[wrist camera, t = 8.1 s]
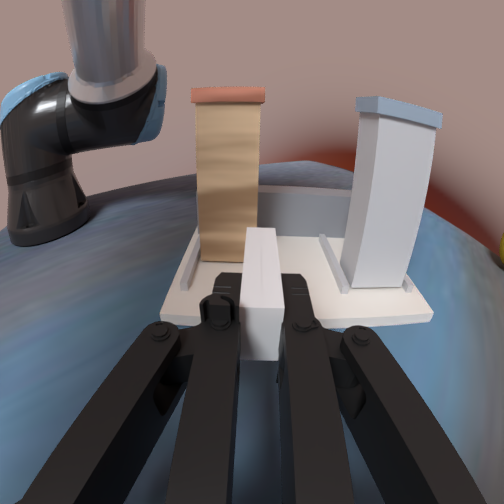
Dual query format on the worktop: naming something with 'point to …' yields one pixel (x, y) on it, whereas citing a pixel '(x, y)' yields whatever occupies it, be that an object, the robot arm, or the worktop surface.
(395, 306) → the switch base
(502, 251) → the lemon
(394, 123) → the grey tall block
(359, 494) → the worktop surface
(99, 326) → the worktop surface
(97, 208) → the worktop surface
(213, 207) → the beige wooden tall block
